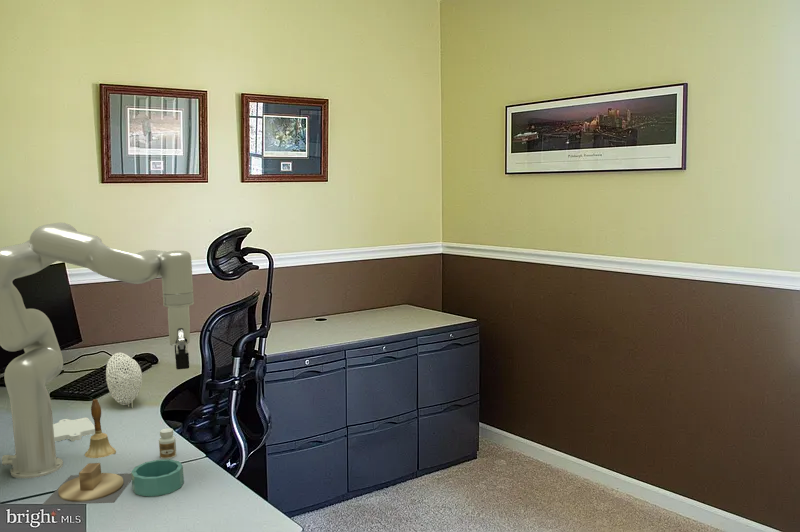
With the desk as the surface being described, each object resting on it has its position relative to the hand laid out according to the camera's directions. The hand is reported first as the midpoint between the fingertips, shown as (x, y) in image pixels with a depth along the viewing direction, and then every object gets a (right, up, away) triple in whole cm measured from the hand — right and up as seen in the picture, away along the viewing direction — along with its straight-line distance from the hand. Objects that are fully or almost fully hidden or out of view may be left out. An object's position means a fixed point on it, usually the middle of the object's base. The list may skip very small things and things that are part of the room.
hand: (182, 363), depth 195 cm
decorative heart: (-36, -22, +59) cm, 72 cm away
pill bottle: (-7, -28, +12) cm, 31 cm away
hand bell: (-27, -28, +15) cm, 42 cm away
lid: (-20, -30, -8) cm, 37 cm away
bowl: (-4, -30, -8) cm, 31 cm away
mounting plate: (-44, -26, +34) cm, 61 cm away
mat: (-20, -30, -8) cm, 37 cm away
